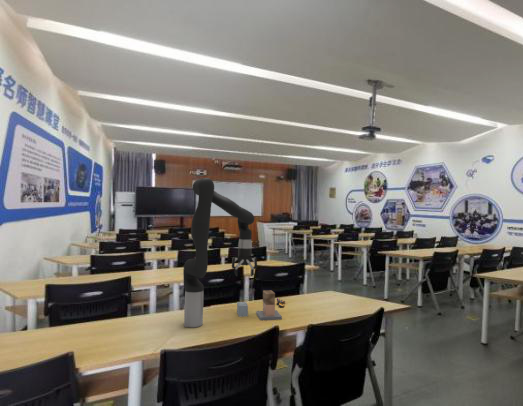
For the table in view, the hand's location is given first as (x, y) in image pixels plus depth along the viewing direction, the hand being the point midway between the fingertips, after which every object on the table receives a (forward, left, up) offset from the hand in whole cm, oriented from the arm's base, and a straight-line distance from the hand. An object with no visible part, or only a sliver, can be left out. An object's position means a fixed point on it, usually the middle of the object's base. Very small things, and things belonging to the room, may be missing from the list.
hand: (244, 276), depth 188 cm
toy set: (+24, +16, -22) cm, 36 cm away
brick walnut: (+13, -5, -14) cm, 20 cm away
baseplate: (+13, -5, -22) cm, 26 cm away
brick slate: (-1, +1, -22) cm, 22 cm away
